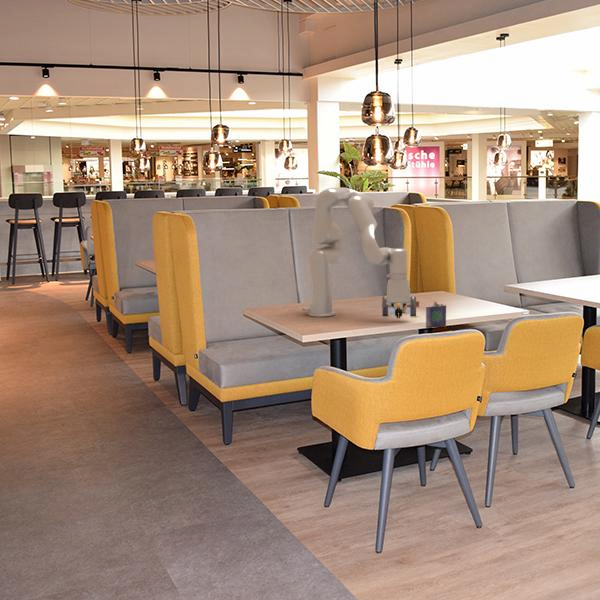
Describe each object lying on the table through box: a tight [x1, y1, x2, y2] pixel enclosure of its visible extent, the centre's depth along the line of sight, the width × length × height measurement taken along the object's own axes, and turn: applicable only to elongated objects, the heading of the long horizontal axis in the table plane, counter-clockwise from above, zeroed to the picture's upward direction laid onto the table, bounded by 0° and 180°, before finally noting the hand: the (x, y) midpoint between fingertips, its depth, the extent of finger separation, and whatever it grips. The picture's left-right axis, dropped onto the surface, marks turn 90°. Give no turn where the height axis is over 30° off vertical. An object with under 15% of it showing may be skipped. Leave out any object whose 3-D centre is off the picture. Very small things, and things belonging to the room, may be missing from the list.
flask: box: [425, 300, 447, 328], centre depth 336 cm, size 9×3×11 cm, turn 109°
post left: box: [381, 295, 389, 317], centre depth 364 cm, size 3×3×9 cm
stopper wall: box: [388, 300, 420, 308], centre depth 390 cm, size 18×2×2 cm, turn 82°
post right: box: [409, 296, 417, 317], centre depth 362 cm, size 3×3×9 cm
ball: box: [397, 303, 407, 313], centre depth 372 cm, size 6×6×6 cm
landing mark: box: [388, 307, 410, 313], centre depth 377 cm, size 14×14×1 cm
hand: (398, 317), depth 350 cm, fingers closed
